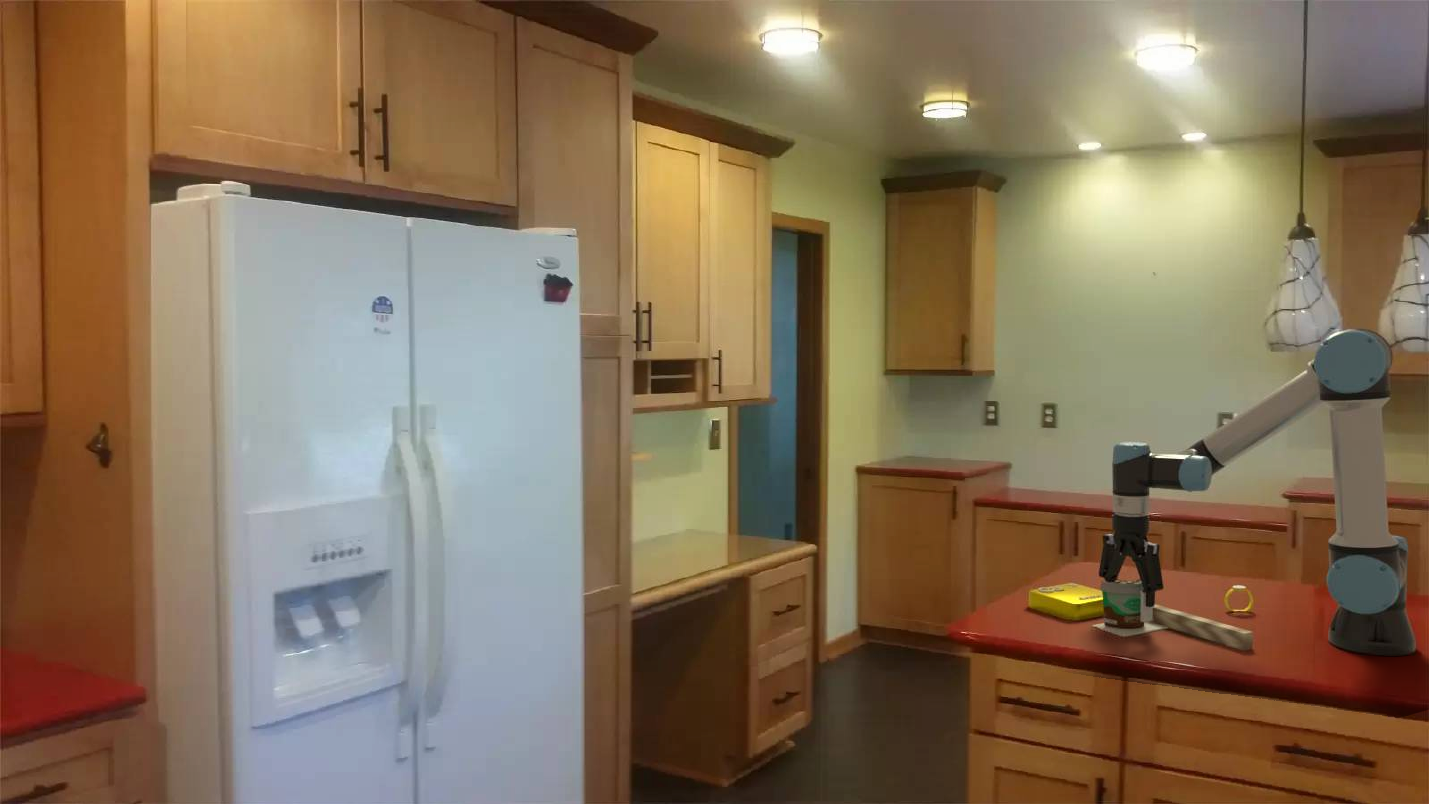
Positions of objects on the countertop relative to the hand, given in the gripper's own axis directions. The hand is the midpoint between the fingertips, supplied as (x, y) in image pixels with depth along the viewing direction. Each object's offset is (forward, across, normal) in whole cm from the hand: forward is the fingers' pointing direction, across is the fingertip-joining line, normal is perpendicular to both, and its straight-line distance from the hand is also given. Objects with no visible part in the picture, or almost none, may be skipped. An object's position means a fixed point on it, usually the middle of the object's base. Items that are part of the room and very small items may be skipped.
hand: (1129, 615), depth 233 cm
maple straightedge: (+3, +8, +8) cm, 12 cm away
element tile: (+3, -17, 0) cm, 18 cm away
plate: (+3, 0, 0) cm, 3 cm away
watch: (+3, +3, +31) cm, 31 cm away
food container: (+2, 0, 0) cm, 2 cm away
